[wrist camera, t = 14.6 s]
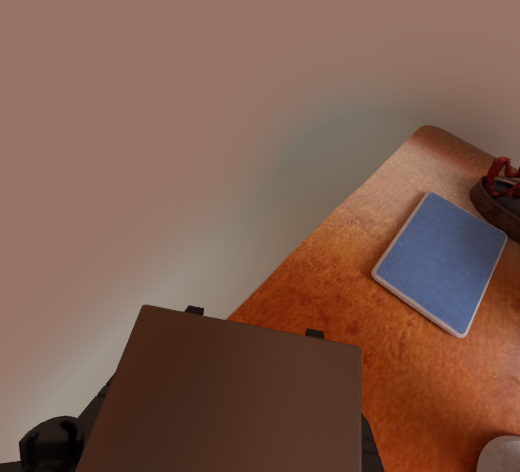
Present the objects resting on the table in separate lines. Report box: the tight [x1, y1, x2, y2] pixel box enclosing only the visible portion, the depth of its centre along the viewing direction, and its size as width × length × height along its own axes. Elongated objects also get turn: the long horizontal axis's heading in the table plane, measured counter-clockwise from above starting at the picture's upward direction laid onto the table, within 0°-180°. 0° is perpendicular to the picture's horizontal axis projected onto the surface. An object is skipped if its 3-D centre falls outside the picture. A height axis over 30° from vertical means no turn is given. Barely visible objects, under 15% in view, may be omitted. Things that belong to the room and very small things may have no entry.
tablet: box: [371, 192, 508, 338], centre depth 37 cm, size 19×13×1 cm, turn 139°
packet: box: [75, 305, 362, 472], centre depth 9 cm, size 5×6×10 cm
